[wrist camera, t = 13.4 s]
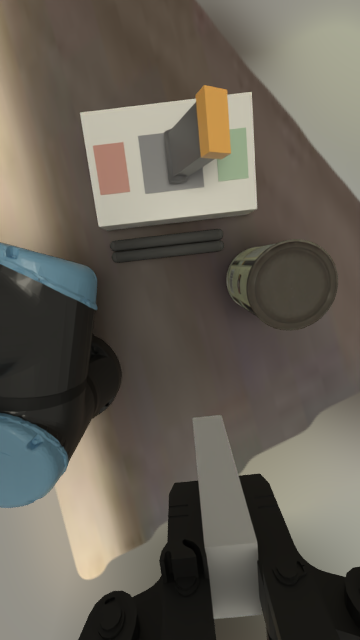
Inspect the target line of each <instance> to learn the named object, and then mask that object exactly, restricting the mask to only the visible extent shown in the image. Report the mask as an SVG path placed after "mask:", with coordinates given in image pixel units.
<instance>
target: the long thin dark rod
mask: <svg viewBox="0 0 360 640" xmlns="http://www.w3.org/2000/svg"><path fill="white" fill-rule="evenodd" d="M222 237H223V232H222V230H220V229H214V230H205V231H197V232H188V233H179V234H170V235H161V236H153V237H144V238H135V239H126V240H117V241H113V242H111V244H110V248H111V249H112V250H113V251H121V252H115V253H113V255H112V259H113V261H114V262H127V261H135V260H144V259H153V258H162V257H171V256H180V255H189V254H198V253H207V252H216V251H221V250H222V249H223V248H224V243H223V242H222V241H213V240H220V239H221V238H222ZM204 241H210V242H204ZM195 242H201V243H195ZM186 243H192V244H186ZM177 244H183V245H177ZM169 245H174V246H169ZM160 246H166V247H160ZM151 247H157V248H151ZM142 248H148V249H142ZM133 249H139V250H133ZM124 250H130V251H124Z"/></svg>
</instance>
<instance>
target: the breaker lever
mask: <svg viewBox="0 0 360 640" xmlns="http://www.w3.org/2000/svg"><path fill="white" fill-rule="evenodd" d="M164 142H165V151H166V160H167V170H168V179H169V183H170V184H181V183H184V182H186V181H187V177H189V176H190V175H192V174H193V173H195V172H196V171H198V170H199V169H201V168H202V167H204V166H205V165H207V164H208V163H210V162H211V161H213V160H214V159H223V158H225V157H226V156H228V155H229V154H231V145H230V129H229V114H228V98H227V90H225V89H220V88H216V87H211V86H206V85H204V86H203V87H202V88H201V90H200V91H199V92H198V93H197V94H196V102H195V104H194V105H193V106H192V107H191V108H190V109H189V110H188V111H187V112H186V114H185V115H184V116H183V117H182V118H181V119H180V120H179V121H178V122H177V124H176V125H175V126H174V127H173V128H172V129H169V130H167V131H165V132H164Z"/></svg>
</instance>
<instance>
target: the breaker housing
mask: <svg viewBox="0 0 360 640" xmlns="http://www.w3.org/2000/svg"><path fill="white" fill-rule="evenodd" d="M227 98H228V114H229V129H230V145H231V154H229V155H228V156H226V157H225V158H223V159H214V160H213V161H211V162H210V163H208V164H207V165H205V166H204V167H202V168H201V169H199V170H198V171H196V172H195V173H193V174H192V175H190V176H189V177H187V181H186V182H184V183H181V184H170V183H169V179H168V170H167V160H166V151H165V142H164V132H165V131H167V130H169V129H172V128H173V127H174V126H175V125H176V124H177V122H178V121H179V120H180V119H181V118H182V117H183V116H184V115H185V114H186V112H187V111H188V110H189V109H190V108H191V107H192V106H193V105H194V104H195V102H196V99H189V100H181V101H173V102H165V103H156V104H148V105H140V106H131V107H123V108H115V109H107V110H98V111H90V112H82V113H80V116H81V122H82V128H83V134H84V140H85V146H86V152H87V158H88V164H89V170H90V177H91V183H92V189H93V195H94V201H95V207H96V213H97V219H98V225H99V227H100V228H103V229H105V230H107V231H109V230H118V229H127V228H136V227H144V226H153V225H162V224H171V223H179V222H188V221H197V220H206V219H215V218H223V217H232V216H241V215H248V214H250V213H251V212H253V211H254V210H256V209H257V196H256V174H255V153H254V132H253V110H252V92H247V93H239V94H231V95H227Z"/></svg>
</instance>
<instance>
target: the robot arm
mask: <svg viewBox="0 0 360 640" xmlns="http://www.w3.org/2000/svg"><path fill="white" fill-rule="evenodd" d="M96 294H97V278H96V275H95V273H94V272H93V271H92V270H91V269H90V268H89V267H87V266H85V265H82V264H79V263H75V262H71V261H68V260H64V259H60V258H57V257H53V256H49V255H46V254H42V253H38V252H34V251H31V250H27V249H23V248H20V247H16V246H12V245H8V244H5V243H1V242H0V507H1V508H13V507H20V506H24V505H28V504H30V503H33V502H34V501H35V500H37V499H40V498H42V497H44V496H45V495H46V494H47V493H48V492H50V490H51V489H52V488H53V487H54V485H55V484H56V482H57V481H58V479H59V478H60V476H61V475H63V473H64V472H65V471H66V468H67V466H68V462H69V460H70V458H71V457H72V455H73V453H74V451H75V449H76V447H77V445H78V443H79V442H80V440H81V438H82V436H83V434H84V432H85V430H86V429H87V427H88V425H89V423H90V421H91V419H92V418H94V417H95V416H97V415H98V414H100V413H102V412H103V411H104V410H105V409H107V408H108V407H109V405H110V404H111V403H112V402H113V400H114V398H115V397H116V394H117V392H118V390H119V387H120V384H121V367H120V364H119V361H118V359H117V357H116V355H115V353H114V352H113V350H112V349H111V348H110V347H109V346H108V345H107V344H106V343H105V342H103V341H102V340H100V339H99V338H97V337H95V336H93V335H92V332H93V323H94V315H95V310H97V305H96ZM192 419H193V429H194V440H195V451H196V461H197V472H198V481H190V482H180V483H174V485H173V487H172V489H171V491H170V493H169V514H168V517H169V519H168V542H167V544H166V545H165V547H164V548H163V550H162V552H161V556H160V560H159V561H160V567H161V574H162V576H161V577H160V579H159V580H158V581H157V583H155V585H154V586H152V587H151V588H149V589H148V590H146V591H144V592H142V593H140V594H138V595H136V596H134V597H131V596H130V594H128V593H126V592H124V591H113V592H111V593H109V594H107V595H105V596H104V597H102V598H101V599H100V600H99V601H98V602H97V603H96V604H95V606H94V608H93V609H92V611H91V613H90V614H89V616H88V619H87V621H86V623H85V625H84V628H83V630H82V633H81V635H80V637H79V639H78V640H216V634H215V625H214V619H219V618H230V617H241V616H252V615H262V611H263V615H264V619H265V623H266V631H267V640H360V567H355V568H352V569H351V570H350V571H349V572H347V574H346V577H343V576H339V575H335V574H331V573H327V572H324V571H321V570H319V569H317V568H315V567H313V566H312V565H310V564H309V563H308V562H307V561H306V560H304V559H303V558H302V556H301V555H300V554H299V552H298V551H297V549H296V547H295V545H294V543H293V540H292V538H291V536H290V533H289V530H288V528H287V526H286V523H285V521H284V518H283V516H282V514H281V511H280V509H279V507H278V504H277V501H276V499H275V497H274V494H273V492H272V489H271V487H270V484H269V483H268V482H267V481H266V479H265V478H264V477H262V475H261V474H252V475H243V476H238V472H237V469H236V465H235V462H234V458H233V455H232V451H231V448H230V444H229V440H228V437H227V433H226V430H225V426H224V423H223V419H222V416H221V415H216V416H206V417H197V418H192ZM261 607H262V609H261Z"/></svg>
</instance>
